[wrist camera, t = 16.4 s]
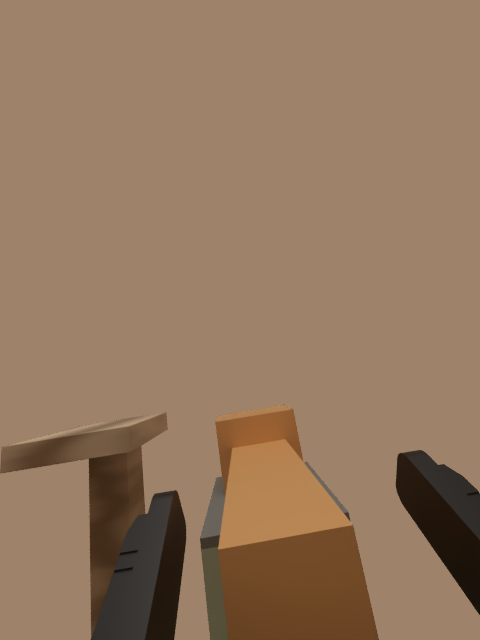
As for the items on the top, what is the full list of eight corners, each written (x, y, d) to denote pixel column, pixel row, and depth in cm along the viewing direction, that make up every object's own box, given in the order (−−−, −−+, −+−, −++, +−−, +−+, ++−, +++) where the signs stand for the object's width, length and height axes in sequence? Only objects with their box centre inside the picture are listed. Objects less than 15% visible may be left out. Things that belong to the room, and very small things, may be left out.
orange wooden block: (195, 691, 7) (176, 478, 8) (227, 476, 22) (219, 415, 23) (418, 647, 7) (367, 446, 8) (295, 464, 22) (284, 404, 24)
